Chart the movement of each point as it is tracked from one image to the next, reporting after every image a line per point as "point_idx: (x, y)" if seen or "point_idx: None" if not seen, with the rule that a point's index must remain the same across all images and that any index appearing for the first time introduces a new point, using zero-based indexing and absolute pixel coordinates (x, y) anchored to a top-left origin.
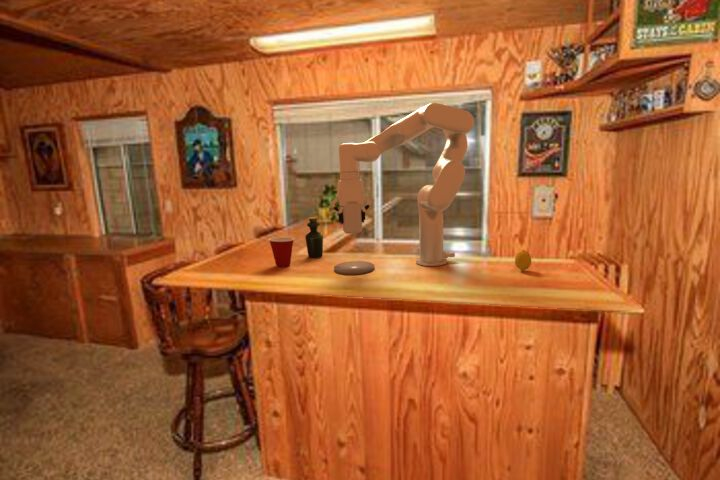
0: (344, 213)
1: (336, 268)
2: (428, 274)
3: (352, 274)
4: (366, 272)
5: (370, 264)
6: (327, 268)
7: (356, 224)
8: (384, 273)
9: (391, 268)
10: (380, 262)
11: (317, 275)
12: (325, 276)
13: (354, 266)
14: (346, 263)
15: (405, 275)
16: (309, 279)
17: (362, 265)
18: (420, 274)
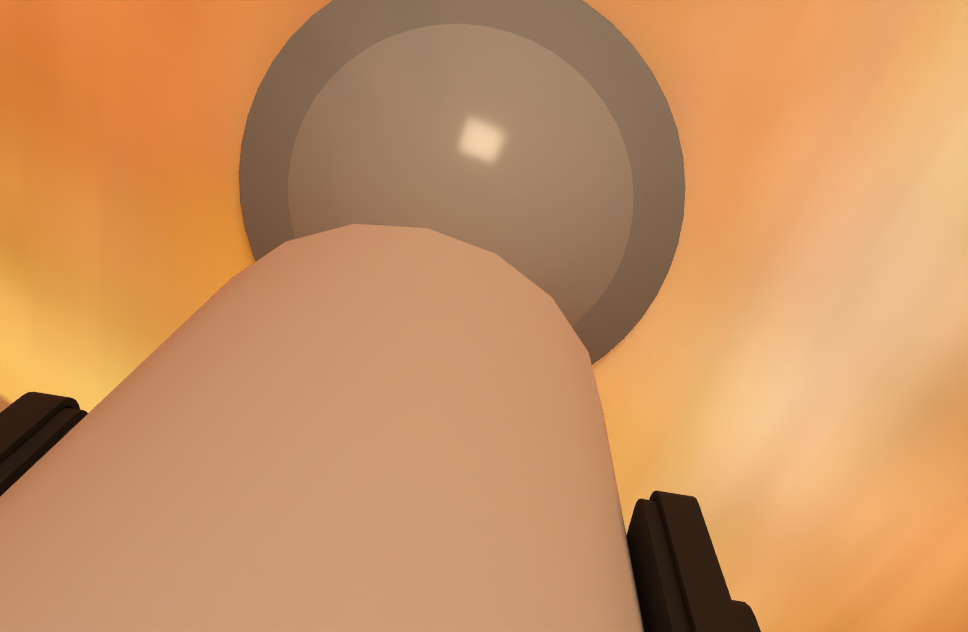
0: None
1: (260, 204)
2: (953, 614)
3: None
4: None
5: (647, 219)
6: (188, 21)
7: None
8: (664, 450)
9: (807, 340)
10: (847, 51)
11: (75, 243)
12: (149, 307)
13: (456, 227)
14: (407, 50)
15: (784, 564)
16: (7, 330)
17: (548, 229)
18: (902, 590)
